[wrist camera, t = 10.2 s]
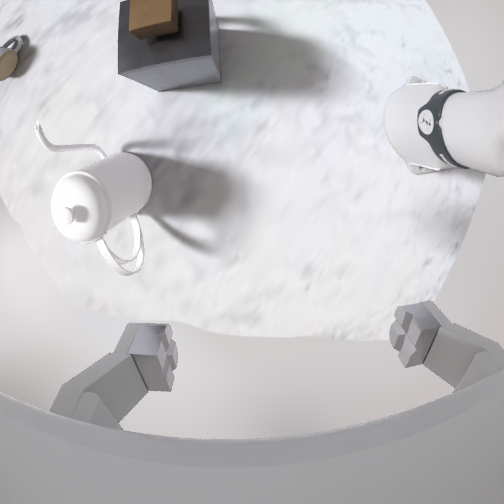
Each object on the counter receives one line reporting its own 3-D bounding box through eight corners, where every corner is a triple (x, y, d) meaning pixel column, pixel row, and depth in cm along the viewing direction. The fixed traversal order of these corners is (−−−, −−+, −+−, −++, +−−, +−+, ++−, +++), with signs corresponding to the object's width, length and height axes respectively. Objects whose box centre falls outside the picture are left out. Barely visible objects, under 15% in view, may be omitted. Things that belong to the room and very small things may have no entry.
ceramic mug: (12, 82, 30) (-11, 81, 23) (-6, 79, 28) (-27, 78, 21) (31, 37, 27) (10, 30, 20) (13, 36, 25) (-8, 31, 18)
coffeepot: (120, 102, 36) (55, 93, 19) (181, 231, 46) (151, 290, 29) (73, 135, 38) (1, 148, 21) (132, 253, 48) (88, 314, 31)
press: (217, 14, 31) (207, -36, 16) (221, 82, 36) (211, 55, 22) (157, 23, 31) (122, -17, 16) (159, 91, 36) (118, 73, 22)
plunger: (207, 35, 32) (186, -24, 14) (209, 72, 34) (187, 29, 17) (164, 42, 31) (118, -7, 14) (165, 79, 34) (114, 47, 17)
